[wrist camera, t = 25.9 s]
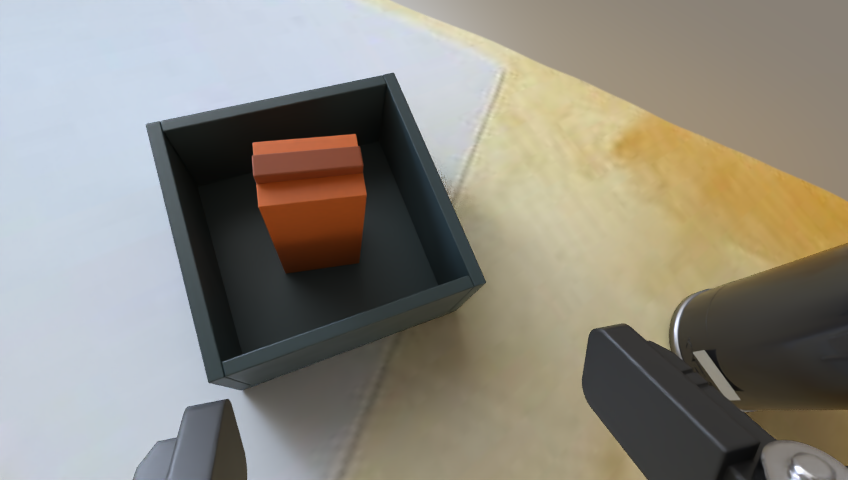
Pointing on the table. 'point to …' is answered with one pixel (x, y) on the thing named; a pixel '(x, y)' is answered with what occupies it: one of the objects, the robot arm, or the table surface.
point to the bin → (255, 252)
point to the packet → (312, 199)
